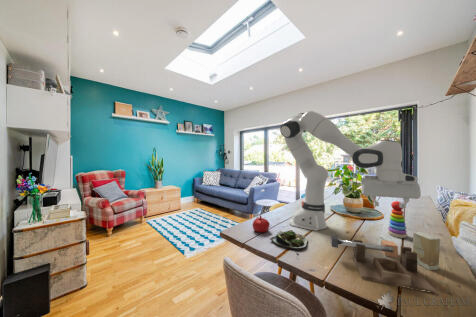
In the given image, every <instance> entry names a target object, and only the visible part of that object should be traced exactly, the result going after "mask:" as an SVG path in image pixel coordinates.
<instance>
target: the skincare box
mask: <svg viewBox="0 0 476 317" xmlns="http://www.w3.org/2000/svg"><path fill="white" fill-rule="evenodd" d="M412 240H413V241H412V252H416V253H417V265H419V266H421V267H423V268H425V269H427V270H428V271H435V270H440V269H439V267H440V247H441V246H440V245H441V244H440V243H441V242H440V241H441V239H440V238H439V237H436V236H433V235H431V234H428V233H426V232H423V231H416V232H413V238H412Z"/></svg>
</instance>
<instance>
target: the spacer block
mask: <svg viewBox="0 0 476 317" xmlns="http://www.w3.org/2000/svg"><path fill="white" fill-rule="evenodd" d="M380 246H387V247H392V248H393V253H391V252H384V251H381V253H383V255H384V256H385V257H392V258H398V257H399V246H398V245H397V244H396V243H395V242H394V241H393V240H384V239H381V240H380Z"/></svg>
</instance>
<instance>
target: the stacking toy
mask: <svg viewBox="0 0 476 317" xmlns="http://www.w3.org/2000/svg"><path fill="white" fill-rule="evenodd" d="M399 203H402V202H401V201H398V200H395V201H392V202H391V204H390V205H391V208H392V209H391V213H390V217H389V224H388V227H387V229H388V230H387V233H388V234H389V235H390V236H392V237H395V238H400V239H406V238H407V237H408V233H407V226H406V222H405V216H404V211H403V209H404V208H400V205H399Z"/></svg>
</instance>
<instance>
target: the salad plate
mask: <svg viewBox="0 0 476 317" xmlns="http://www.w3.org/2000/svg"><path fill="white" fill-rule="evenodd" d="M298 238H299V239H298ZM269 240H270V241H272V242H273V244H275V246H277V247H279V248H283V249H287V250H291V251H302V250H305V249H306V247H307V246H308V244H307V243H308V238H307V236H306V235H303V234H301V233H296V232H295V231H294V230H293V229H289V230H286V231H279V232H277V233H275V235H274V236H272V237H270V238H269Z"/></svg>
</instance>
